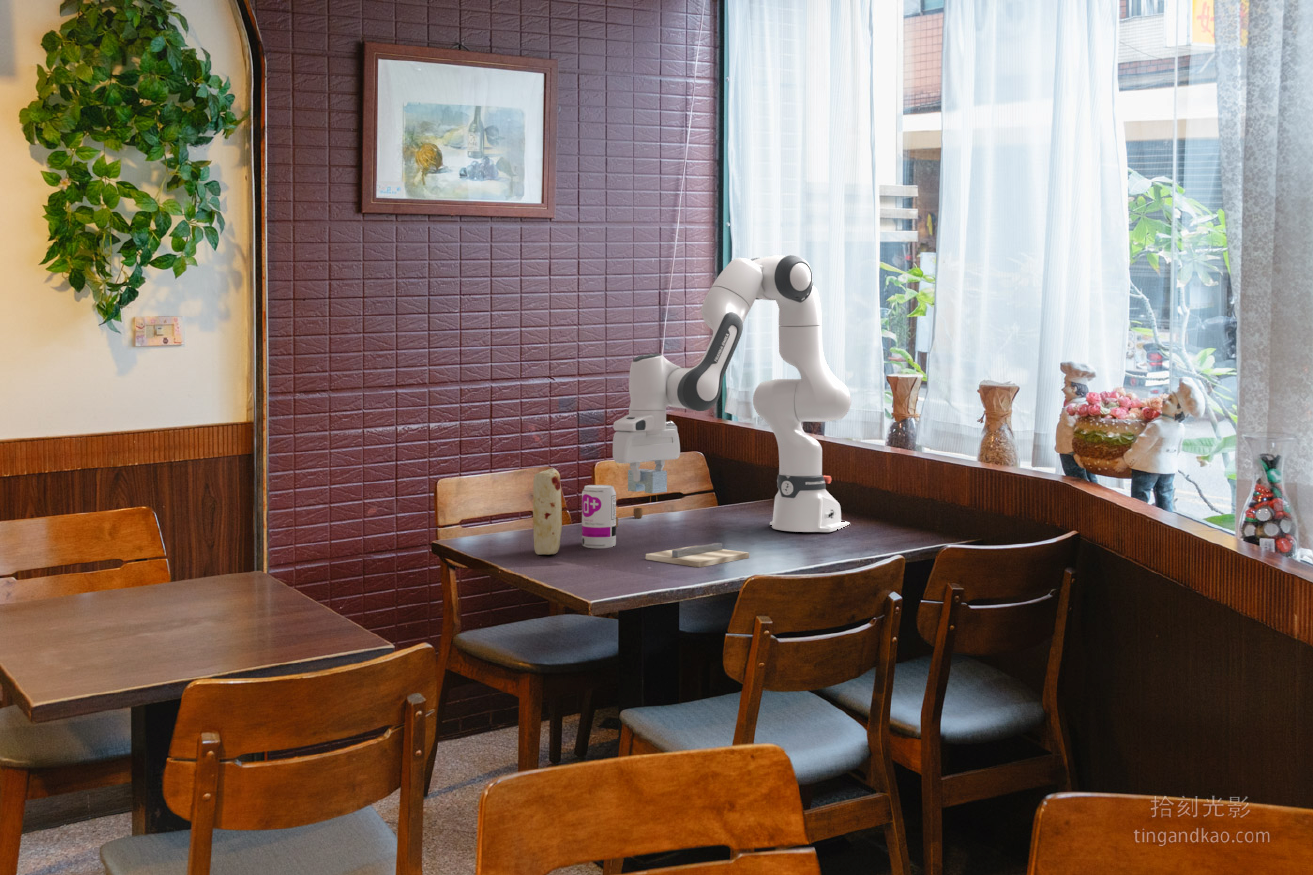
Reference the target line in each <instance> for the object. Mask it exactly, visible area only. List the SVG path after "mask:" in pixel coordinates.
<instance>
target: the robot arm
mask: <svg viewBox="0 0 1313 875" xmlns="http://www.w3.org/2000/svg"><path fill="white" fill-rule="evenodd" d="M756 300H759V301H760V300H764V301H776V304H777V306H778V353H779V355H780V357H781V359H782V360H783V361H784V362H786V363H787V364H789V365H791V366H793V367H794V368H796V369H797V371H798V373H799V375H800V378H776V379H771V380H765V381H762V382H760V383H759V384H758V385H757V387H756V388H755V390H754V393H753V395H752V402H753V403H752V405H753V408H754V410H755V412H756V413H757V415H758V416H759V417H760V418H761V419H762V420H764V422H766V423H767V425H768V426H769V427H770V429H771V430H772V432H773V434H774V436H775V439H776V442H777V447H778V449H777V450H778V461H779V462H778V465H779V466H778V467H779V468H778V474H777V479H776V482H777V483H776V485H777V486H776V487H777V489H778V491H777V493H776V494H775V496H774V502H773V511H772V512H773V514H772V521H770V522H769V526H770V525H772V526H771V528H772V529H773V530H778V531H784V532H793V533H794V532H795V533H796V532H797V533H798V532H802V533H831V532H835V531H837V529H838V530H842V529H844V528H843V527H845V526H847V525H849V524H850V525H851V522H849V521H846V520H844V521H845V522H841V521H842V510H841V508H842V507H841V505H840V503H839V502H838V500H836V498H834V497H833V495H831V494H830V493H829V491H828V490H827V489H826V488H827V486H826V484H831V482H832V480H833V479H832V477H831V475H823V448H822V445H821V443H820V442H819V441H818V440H817V439H816V438H814V437H813V436H811V435H809V434H807V433H806V432H805V431H804V429H803V426H802V422H810V423H811V422H812V423H816V422H817V423H828V422H833V421H838V420H839V421H840V420H842V419H844V418H845V417H846V416H847V414H848V412H849V410H850V408H851V405H852V404H851V403H852V398H851V393H850V391H849V389H848V387H847V385H846V384H845V383H844V382H842V381H841V380H839V379H838V377H836V376H835V374H833V372H832V371H831V369H830V367H829V365H828V363H827V361H826V358H825V354H824V346H823V325H822V323H823V321H822V318H823V317H822V307H821V302H820V296H819V292H818V289H817V288H816V287H815V286H814V275H813V271H812V268H811V266H810V264H809V262H808V261H807V260H806V259H805V258H803V257H800V256H797V255H782V254H781V255H780V254H779V255H774V254H773V255H770V256H765V257H764V256H763V257H754V258H751V259H749V258H744V257H736V258H734V259H732V260H731V261H729V263H728V264H727V265H726V266H725V267H724V268H723V270H722V271H721V272H720V274H719V275H718V276H717V278H716V279H715V281H714V282H713V283H712V285H711V287H710V288H709V290H708V292H707V293H706V296H705V298H704V300H703V302H702V305H701V309H700V312H701V317H702V320H703V321H704V324H705V325H706V326H707V327H708V328H709V329H711V330H712V337H711V339H710V341H709V343H708V345H707V348H706V349H705V352H704V354H703V356H702V359H701V361H699V363H698V364H696V365H695V366H693V367H689V368H688V367H686V368H685V367H681V366H680V365H677V364H674V363H673V362H671V361H669V360H668V359H667V358H665V356H664V355H663V354H662V353H656V352H655V353H647V354H642V355H638V356H636V357H634V358H633V360H632V361H631V363H630V369H629V376H628V377H629V379H628V393H629V398H630V404H629V406H628V414H626V415H625V416H623V417H621V418H619V419H617V420H616V421H614V422H613V430H614V431H616V432H614V434H613V438H612V458H613V460H614V462H615V463H616V464H629V468H630V470H631V471H632V473H633V480H634V481H636V482H639V481H643V474H641V473H640V470H639V469H640V467H641V463H645V462H646V463H647V462H654V465H655V466H654V470H664V467H665V466H666V464H665V463H666V461H670V460H678V459H679V457H680V456H681V443H680V437H679V433H678V426H677V425H676V423H674V421H672V420H669V421H667V407H671V408H679V409H688V410H692V411H696V412H705V411H707V410H709V409H711V408H713V407H714V406H715V405H716V404H717V402H718V400H719V398H720V396H721V392H722V385H723V380H724V378H725V374H726V371H727V369H728V368H729V364H730V363H731V360H732V358H733V356H734V354H735V351H736V348H737V346H738V345H739V342H740V339H741V337H742V333H743V331H744V330H743V329H744V322H745V319H746V318H747V316H748V314H749V312H750V310H751V309H752V307H753V305H754V303H755V301H756ZM841 528H842V529H841ZM845 528H846V527H845Z"/></svg>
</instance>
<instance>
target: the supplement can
mask: <svg viewBox="0 0 1313 875" xmlns="http://www.w3.org/2000/svg"><path fill="white" fill-rule="evenodd" d="M616 517H617V492H616V490H615V488H614V485H610V484H589V485H584V488H583V489H582V491H581V545H582V546H583V547H585V548H589V549H609V548H613V546H614V547H615V546H616V545H617V527H616Z"/></svg>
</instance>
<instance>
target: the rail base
mask: <svg viewBox="0 0 1313 875" xmlns="http://www.w3.org/2000/svg"><path fill="white" fill-rule="evenodd" d="M696 546H697V545H692V546H686V547H685V546H684V547H680V548H679V547H678V548H675V549H674V548H673V549H669V550H668V549H667V550H662V551H657V552H651V553H645V560H647V561H652V562H653V561H655V562H661V563H666V564H667V563H668V564H674V565H680V566H681V565H682V566H686V567H687V566H688V567H693V568H703V567H709V566H713V565H719V564H723V563H725V564H726V563H728V562H735V561H739V560H746V559H750V552H747V551H740V550H733V549H732V550H730V549H724V548H722V550H719V551H713V552H708V553H702V554H696V555H691V556H685V557H680V558H675V557H672V550H678V549H684V548H690V547H696Z"/></svg>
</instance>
